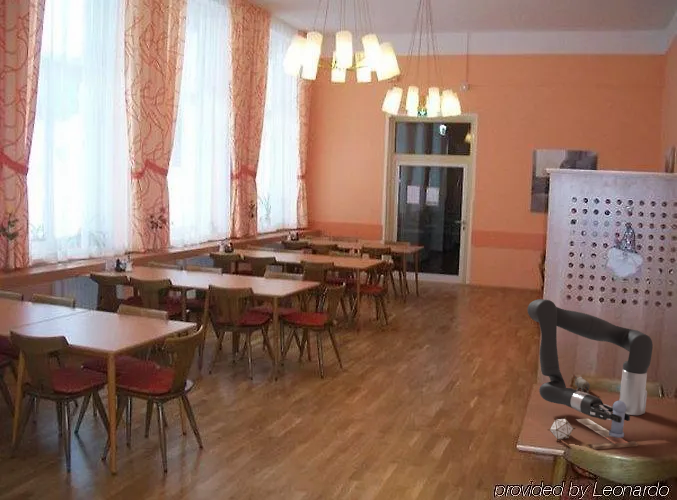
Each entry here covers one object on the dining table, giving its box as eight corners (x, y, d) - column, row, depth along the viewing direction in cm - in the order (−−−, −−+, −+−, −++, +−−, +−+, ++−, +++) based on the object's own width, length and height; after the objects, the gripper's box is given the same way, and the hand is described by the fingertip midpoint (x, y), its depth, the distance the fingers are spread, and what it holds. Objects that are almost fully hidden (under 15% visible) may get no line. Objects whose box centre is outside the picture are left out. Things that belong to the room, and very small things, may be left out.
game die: (564, 451, 260) (577, 436, 253) (542, 440, 261) (554, 425, 254) (568, 432, 267) (580, 417, 260) (546, 422, 268) (558, 406, 261)
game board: (593, 419, 283) (593, 417, 283) (637, 446, 259) (637, 443, 258) (552, 422, 278) (553, 419, 278) (594, 449, 253) (594, 446, 253)
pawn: (617, 432, 263) (621, 398, 262) (626, 437, 259) (630, 403, 257) (606, 432, 262) (609, 398, 260) (614, 438, 257) (618, 403, 256)
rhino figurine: (579, 385, 327) (580, 373, 326) (590, 395, 313) (592, 382, 313) (570, 385, 327) (571, 372, 326) (581, 395, 313) (582, 382, 313)
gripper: (574, 396, 267) (613, 411, 253) (600, 391, 275) (639, 406, 260) (572, 416, 268) (610, 432, 254) (598, 410, 276) (636, 426, 261)
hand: (625, 419), depth 257 cm, fingers closed on pawn, 4 cm apart
